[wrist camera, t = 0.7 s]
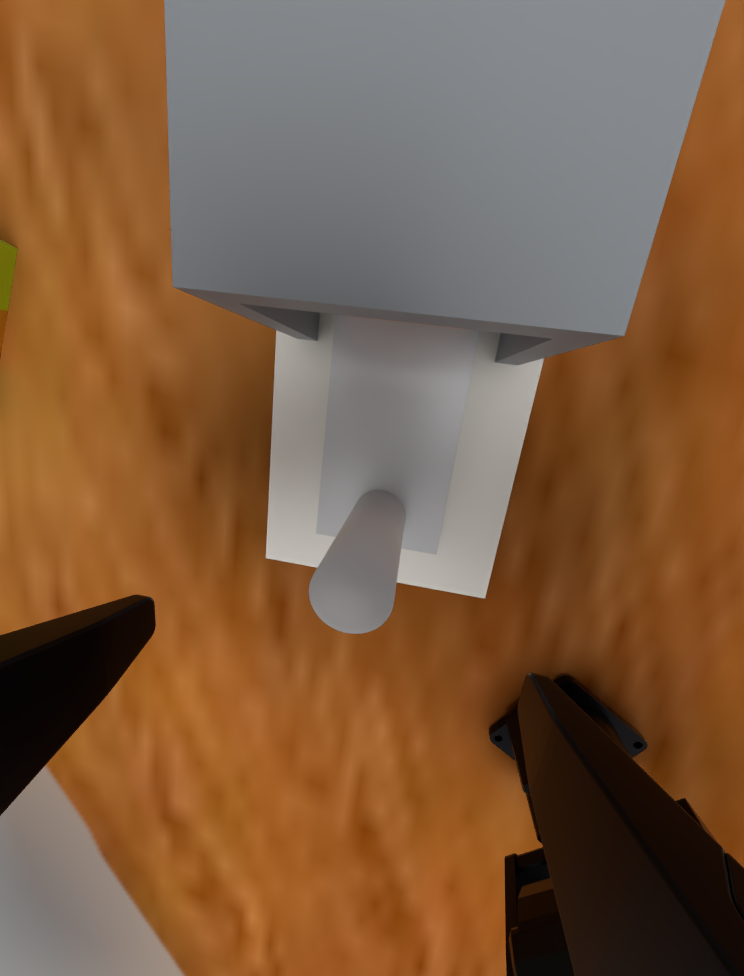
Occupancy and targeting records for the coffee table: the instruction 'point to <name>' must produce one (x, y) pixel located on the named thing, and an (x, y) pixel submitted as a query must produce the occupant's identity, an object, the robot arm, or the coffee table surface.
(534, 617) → the coffee table surface
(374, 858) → the coffee table surface
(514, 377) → the board
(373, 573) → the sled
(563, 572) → the coffee table surface
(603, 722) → the robot arm
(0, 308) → the puzzle toy
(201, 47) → the tunnel
